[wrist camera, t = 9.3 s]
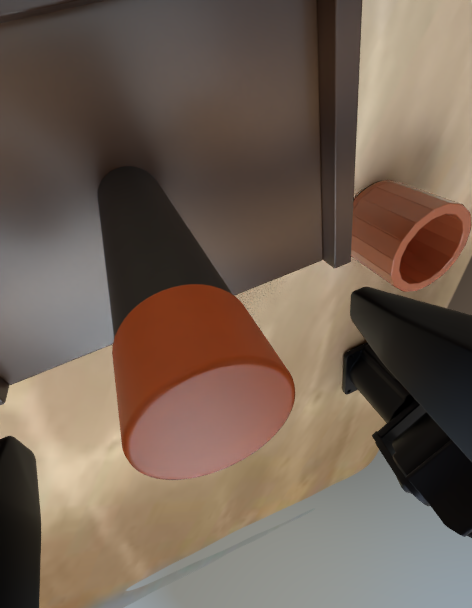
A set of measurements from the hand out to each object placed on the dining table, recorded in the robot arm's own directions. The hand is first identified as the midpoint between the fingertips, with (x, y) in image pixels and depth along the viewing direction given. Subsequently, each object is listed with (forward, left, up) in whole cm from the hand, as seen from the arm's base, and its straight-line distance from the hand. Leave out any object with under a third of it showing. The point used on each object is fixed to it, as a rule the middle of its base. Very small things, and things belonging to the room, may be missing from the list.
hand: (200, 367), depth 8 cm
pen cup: (-6, -15, -11) cm, 20 cm away
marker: (+2, 0, -7) cm, 7 cm away
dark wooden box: (+2, 0, -11) cm, 12 cm away
